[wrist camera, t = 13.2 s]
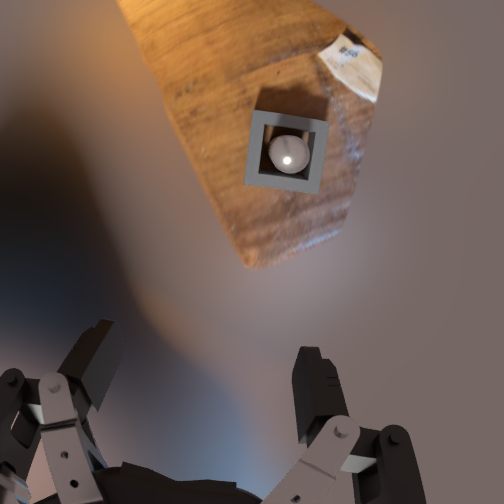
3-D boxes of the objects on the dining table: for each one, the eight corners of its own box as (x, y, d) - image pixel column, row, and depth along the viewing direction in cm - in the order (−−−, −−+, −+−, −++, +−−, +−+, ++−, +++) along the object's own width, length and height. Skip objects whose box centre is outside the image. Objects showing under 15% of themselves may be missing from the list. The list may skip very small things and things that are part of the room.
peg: (269, 133, 33) (273, 132, 26) (300, 137, 33) (312, 139, 26) (265, 162, 35) (268, 170, 28) (295, 166, 35) (306, 176, 28)
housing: (253, 112, 32) (252, 109, 28) (321, 123, 32) (329, 122, 29) (245, 179, 36) (243, 184, 32) (311, 188, 36) (318, 194, 32)
